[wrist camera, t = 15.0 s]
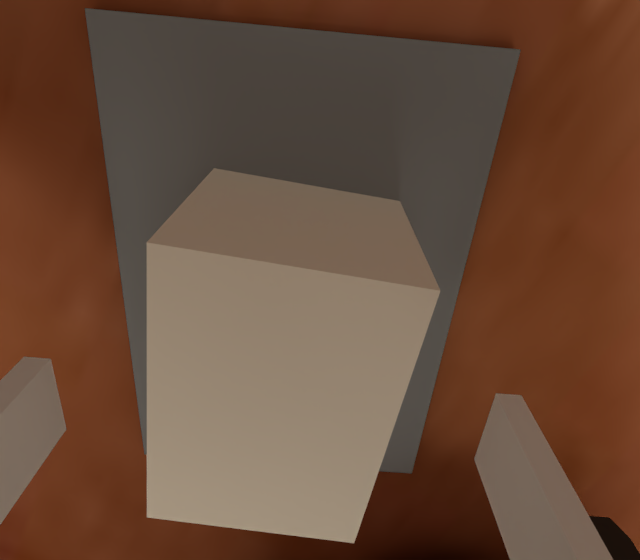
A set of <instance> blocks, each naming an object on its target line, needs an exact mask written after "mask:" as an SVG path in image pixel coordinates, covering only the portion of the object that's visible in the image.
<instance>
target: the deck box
mask: <svg viewBox="0 0 640 560" xmlns="http://www.w3.org/2000/svg"><path fill="white" fill-rule="evenodd" d="M439 294H440V289H439V286H438V284H437V282H436V280H435V278H434V275H433V273H432V271H431V269H430V266H429V264H428V262H427V260H426V258H425V255H424V253H423V251H422V249H421V247H420V244H419V242H418V240H417V238H416V236H415V233H414V231H413V229H412V227H411V225H410V222H409V220H408V218H407V216H406V213H405V211H404V209H403V207H402V205H401V202H400V201H397V200H391V199H385V198H380V197H374V196H369V195H363V194H357V193H352V192H346V191H340V190H335V189H329V188H323V187H318V186H312V185H306V184H301V183H295V182H290V181H284V180H278V179H273V178H267V177H261V176H256V175H250V174H244V173H239V172H233V171H227V170H222V169H216V168H214V169H213V170H212V171H211V172H210V173H209V174H208V175H207V176H206V178H205V179H204V180H203V181H202V182H201V183H200V184H199V185H198V186H197V187H196V189H195V190H194V191H193V192H192V193H191V194H190V195H189V196H188V197H187V198H186V200H185V201H184V202H183V203H182V204H181V205H180V206H179V207H178V208H177V209H176V211H175V212H174V213H173V214H172V215H171V216H170V217H169V218H168V219H167V220H166V222H165V223H164V224H163V225H162V226H161V227H160V228H159V229H158V230H157V231H156V233H155V234H154V235H153V236H152V237H151V238H150V239H149V240H148V241H147V517H148V518H156V519H164V520H172V521H180V522H188V523H196V524H203V525H211V526H219V527H227V528H235V529H243V530H251V531H259V532H267V533H275V534H283V535H291V536H299V537H307V538H315V539H323V540H331V541H339V542H347V543H354V542H355V539H356V537H357V534H358V531H359V528H360V525H361V522H362V519H363V516H364V513H365V510H366V507H367V504H368V501H369V499H370V496H371V493H372V490H373V487H374V484H375V481H376V478H377V475H378V472H379V469H380V466H381V463H382V460H383V458H384V455H385V452H386V449H387V446H388V443H389V440H390V437H391V434H392V431H393V428H394V425H395V422H396V420H397V417H398V414H399V411H400V408H401V405H402V402H403V399H404V396H405V393H406V390H407V387H408V384H409V382H410V379H411V376H412V373H413V370H414V367H415V364H416V361H417V358H418V355H419V352H420V349H421V346H422V344H423V341H424V338H425V335H426V332H427V329H428V326H429V323H430V320H431V317H432V314H433V311H434V308H435V306H436V303H437V300H438V297H439Z"/></svg>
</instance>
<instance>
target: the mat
mask: <svg viewBox="0 0 640 560" xmlns="http://www.w3.org/2000/svg"><path fill="white" fill-rule="evenodd" d="M85 14H86V21H87V29H88V36H89V43H90V51H91V58H92V66H93V73H94V81H95V88H96V96H97V103H98V111H99V118H100V126H101V133H102V141H103V148H104V156H105V163H106V171H107V178H108V185H109V193H110V200H111V208H112V215H113V223H114V230H115V238H116V245H117V253H118V260H119V268H120V275H121V283H122V290H123V298H124V305H125V313H126V320H127V327H128V335H129V342H130V350H131V357H132V365H133V372H134V380H135V387H136V395H137V402H138V410H139V417H140V425H141V432H142V440H143V447H144V454H146V455H147V241H148V240H149V239H150V238H151V237H152V236H153V235H154V234H155V233H156V231H157V230H158V229H159V228H160V227H161V226H162V225H163V224H164V223H165V222H166V220H167V219H168V218H169V217H170V216H171V215H172V214H173V213H174V212H175V211H176V209H177V208H178V207H179V206H180V205H181V204H182V203H183V202H184V201H185V200H186V198H187V197H188V196H189V195H190V194H191V193H192V192H193V191H194V190H195V189H196V187H197V186H198V185H199V184H200V183H201V182H202V181H203V180H204V179H205V178H206V176H207V175H208V174H209V173H210V172H211V171H212V170H213V169H214V168H216V169H222V170H227V171H233V172H239V173H244V174H250V175H256V176H261V177H267V178H273V179H278V180H284V181H290V182H295V183H301V184H306V185H312V186H318V187H323V188H329V189H335V190H340V191H346V192H352V193H357V194H363V195H369V196H374V197H380V198H385V199H391V200H397V201H400V202H401V205H402V207H403V209H404V211H405V213H406V216H407V218H408V220H409V222H410V225H411V227H412V229H413V231H414V233H415V236H416V238H417V240H418V242H419V244H420V247H421V249H422V251H423V253H424V255H425V258H426V260H427V262H428V264H429V266H430V269H431V271H432V273H433V275H434V278H435V280H436V282H437V284H438V286H439V289H440V294H439V297H438V300H437V303H436V306H435V308H434V311H433V314H432V317H431V320H430V323H429V326H428V329H427V332H426V335H425V338H424V341H423V344H422V346H421V349H420V352H419V355H418V358H417V361H416V364H415V367H414V370H413V373H412V376H411V379H410V382H409V384H408V387H407V390H406V393H405V396H404V399H403V402H402V405H401V408H400V411H399V414H398V417H397V420H396V422H395V425H394V428H393V431H392V434H391V437H390V440H389V443H388V446H387V449H386V452H385V455H384V458H383V460H382V463H381V466H380V469H379V471H383V472H397V473H411V474H412V471H413V467H414V463H415V459H416V455H417V451H418V447H419V443H420V440H421V436H422V432H423V428H424V424H425V420H426V416H427V412H428V408H429V405H430V401H431V397H432V393H433V389H434V385H435V381H436V377H437V373H438V370H439V366H440V362H441V358H442V354H443V350H444V346H445V342H446V338H447V335H448V331H449V327H450V323H451V319H452V315H453V311H454V307H455V303H456V300H457V296H458V292H459V288H460V284H461V280H462V276H463V272H464V268H465V265H466V261H467V257H468V253H469V249H470V245H471V241H472V237H473V233H474V230H475V226H476V222H477V218H478V214H479V210H480V206H481V202H482V198H483V194H484V191H485V187H486V183H487V179H488V175H489V171H490V167H491V163H492V159H493V156H494V152H495V148H496V144H497V140H498V136H499V132H500V128H501V124H502V121H503V117H504V113H505V109H506V105H507V101H508V97H509V93H510V89H511V86H512V82H513V78H514V74H515V70H516V66H517V62H518V58H519V54H520V51H521V50H519V49H509V48H498V47H488V46H477V45H467V44H456V43H446V42H435V41H425V40H414V39H404V38H393V37H383V36H372V35H362V34H351V33H341V32H330V31H320V30H309V29H299V28H288V27H278V26H267V25H257V24H246V23H236V22H225V21H215V20H204V19H194V18H183V17H173V16H162V15H152V14H141V13H131V12H120V11H110V10H99V9H89V8H85Z"/></svg>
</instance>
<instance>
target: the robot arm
mask: <svg viewBox="0 0 640 560" xmlns="http://www.w3.org/2000/svg"><path fill="white" fill-rule="evenodd" d="M65 430H66V425H65V420H64V416H63V411H62V407H61V402H60V398H59V394H58V389H57V385H56V380H55V376H54V371H53V367H52V362H51V359H47V358H34V357H23V358H22V359H21V360H20V361H19V362H18V363H17V364H16V365H15V366H14V367H13V368H12V369H11V370H10V371H9V372H8V373H7V374H6V375H5V376H4V377H3V378H2V379H1V380H0V524H1V523H2V522H3V520H4V519H5V517H6V516H7V514H8V513H9V511H10V510H11V509H12V507H13V506H14V504H15V503H16V501H17V500H18V498H19V497H20V496H21V494H22V493H23V491H24V490H25V488H26V487H27V485H28V484H29V483H30V481H31V480H32V478H33V477H34V475H35V474H36V472H37V471H38V470H39V468H40V467H41V465H42V464H43V462H44V461H45V459H46V458H47V457H48V455H49V454H50V452H51V451H52V449H53V448H54V446H55V445H56V444H57V442H58V441H59V439H60V438H61V436H62V435H63V433H64V432H65ZM474 460H475V463H476V466H477V469H478V472H479V474H480V477H481V480H482V483H483V486H484V488H485V491H486V494H487V497H488V500H489V502H490V505H491V508H492V511H493V514H494V516H495V519H496V522H497V525H498V528H499V531H500V533H501V536H502V539H503V542H504V545H505V547H506V550H507V553H508V556H509V559H510V560H640V554H639V552H638V550H637V549H636V547H635V546H634V544H633V542H632V541H631V539H630V538H629V537H628V536H627V535H626V534H625V533H624V532H623V531H622V530H621V529H620V528H619V527H618V526H617V525H616V524H615V523H614V522H613V521H612V520H611V519H610V518H608V517H594V516H589V515H588V514H587V512H586V510H585V508H584V506H583V505H582V503H581V501H580V499H579V497H578V496H577V494H576V492H575V490H574V489H573V487H572V485H571V483H570V481H569V480H568V478H567V476H566V474H565V472H564V471H563V469H562V467H561V465H560V464H559V462H558V460H557V458H556V456H555V455H554V453H553V451H552V449H551V447H550V446H549V444H548V442H547V440H546V438H545V437H544V435H543V433H542V431H541V430H540V428H539V426H538V424H537V422H536V421H535V419H534V417H533V415H532V413H531V412H530V410H529V408H528V406H527V404H526V403H525V401H524V399H523V397H522V396H521V395H511V394H498V393H496V395H495V398H494V401H493V404H492V407H491V410H490V413H489V416H488V419H487V422H486V425H485V428H484V431H483V434H482V437H481V440H480V443H479V446H478V449H477V452H476V455H475V458H474Z"/></svg>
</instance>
